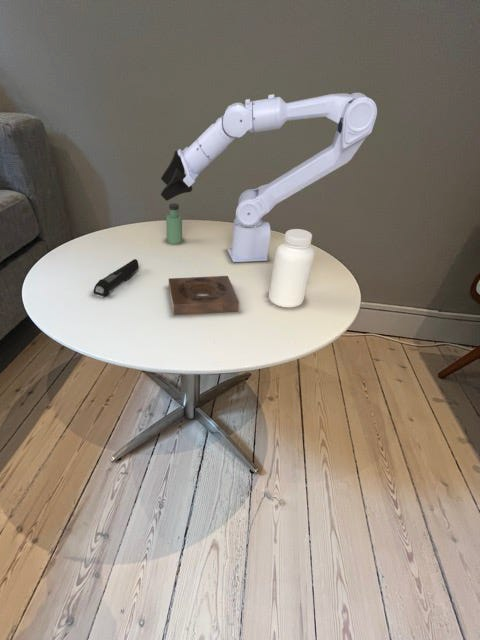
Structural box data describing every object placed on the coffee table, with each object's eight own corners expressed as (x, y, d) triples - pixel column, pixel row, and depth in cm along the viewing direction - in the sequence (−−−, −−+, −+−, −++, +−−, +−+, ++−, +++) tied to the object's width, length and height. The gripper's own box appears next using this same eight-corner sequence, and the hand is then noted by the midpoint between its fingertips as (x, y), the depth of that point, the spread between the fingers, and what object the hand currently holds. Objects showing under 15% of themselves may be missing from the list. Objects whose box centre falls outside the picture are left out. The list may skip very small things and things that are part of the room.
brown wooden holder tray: (227, 285, 92) (227, 275, 91) (237, 311, 84) (239, 301, 82) (168, 288, 91) (168, 278, 89) (173, 315, 82) (173, 304, 80)
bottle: (181, 238, 114) (181, 202, 107) (182, 243, 111) (182, 207, 104) (166, 238, 113) (165, 202, 107) (167, 244, 110) (166, 207, 103)
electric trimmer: (143, 272, 97) (142, 259, 95) (105, 298, 87) (104, 285, 85) (130, 268, 99) (129, 256, 97) (92, 294, 88) (90, 281, 86)
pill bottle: (282, 311, 84) (296, 243, 74) (261, 295, 89) (271, 229, 79) (310, 303, 87) (327, 237, 76) (288, 288, 92) (301, 223, 82)
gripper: (192, 122, 92) (152, 163, 99) (195, 150, 83) (151, 192, 90) (211, 146, 96) (172, 183, 103) (215, 175, 87) (172, 213, 95)
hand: (163, 189), depth 97 cm, fingers open, 7 cm apart
